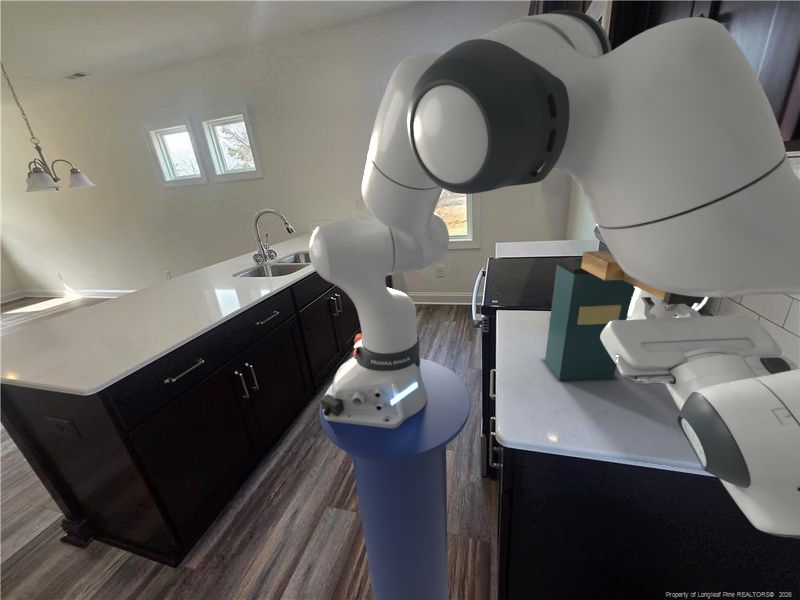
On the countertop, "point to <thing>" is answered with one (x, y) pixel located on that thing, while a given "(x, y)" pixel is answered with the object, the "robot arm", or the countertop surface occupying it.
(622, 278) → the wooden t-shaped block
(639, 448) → the countertop surface
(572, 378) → the teal box with label
